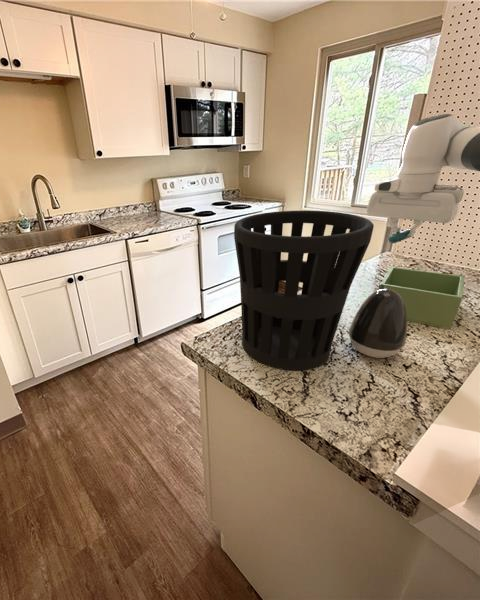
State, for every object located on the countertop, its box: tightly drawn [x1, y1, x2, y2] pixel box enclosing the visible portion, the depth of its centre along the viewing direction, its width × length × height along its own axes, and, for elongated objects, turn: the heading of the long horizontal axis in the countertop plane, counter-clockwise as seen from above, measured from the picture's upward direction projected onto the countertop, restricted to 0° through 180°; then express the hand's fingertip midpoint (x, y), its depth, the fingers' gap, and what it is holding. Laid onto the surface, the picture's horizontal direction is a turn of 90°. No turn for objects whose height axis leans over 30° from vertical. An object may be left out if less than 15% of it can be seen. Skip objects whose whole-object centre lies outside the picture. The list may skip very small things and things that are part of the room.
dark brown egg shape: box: [348, 283, 408, 359], centre depth 67 cm, size 10×10×15 cm
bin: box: [379, 266, 466, 330], centre depth 83 cm, size 16×16×9 cm
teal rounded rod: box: [387, 229, 413, 244], centre depth 90 cm, size 11×2×2 cm
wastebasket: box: [233, 210, 375, 372], centre depth 69 cm, size 25×25×30 cm
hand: (402, 234), depth 90 cm, fingers closed on teal rounded rod, 2 cm apart
